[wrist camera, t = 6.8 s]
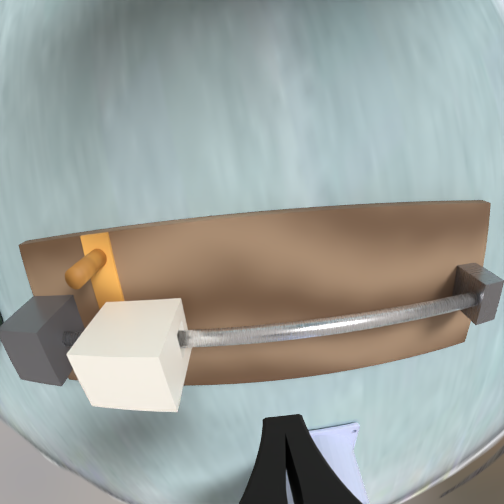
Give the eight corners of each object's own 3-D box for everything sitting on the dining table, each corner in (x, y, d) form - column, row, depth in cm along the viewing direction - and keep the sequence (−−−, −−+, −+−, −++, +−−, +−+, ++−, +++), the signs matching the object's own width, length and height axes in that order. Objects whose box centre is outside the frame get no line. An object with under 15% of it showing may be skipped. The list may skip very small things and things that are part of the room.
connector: (90, 342, 19) (61, 386, 15) (51, 341, 20) (21, 379, 15) (73, 294, 18) (36, 333, 13) (33, 296, 18) (-4, 329, 13)
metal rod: (461, 292, 20) (494, 319, 16) (93, 330, 20) (68, 366, 16) (468, 257, 19) (504, 280, 15) (81, 294, 19) (51, 327, 15)
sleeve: (191, 347, 19) (177, 412, 13) (121, 348, 19) (92, 405, 13) (181, 297, 17) (158, 357, 12) (106, 302, 17) (66, 354, 12)
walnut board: (458, 335, 22) (485, 364, 17) (73, 372, 22) (52, 406, 18) (482, 200, 18) (522, 214, 13) (26, 240, 18) (-12, 262, 14)
